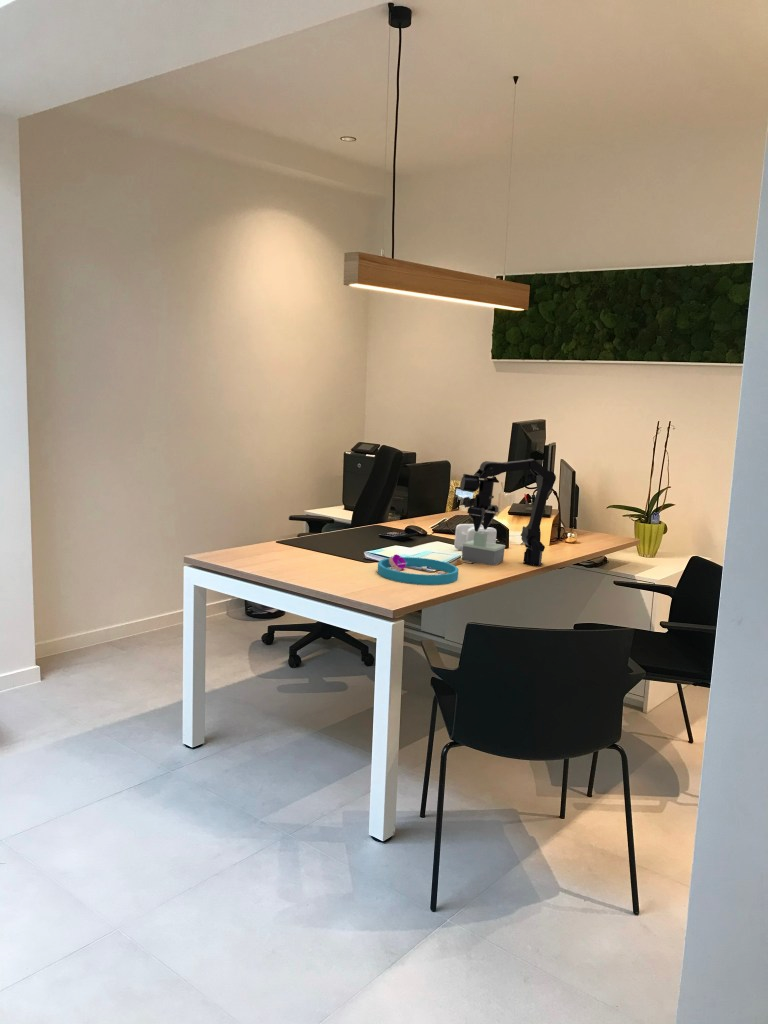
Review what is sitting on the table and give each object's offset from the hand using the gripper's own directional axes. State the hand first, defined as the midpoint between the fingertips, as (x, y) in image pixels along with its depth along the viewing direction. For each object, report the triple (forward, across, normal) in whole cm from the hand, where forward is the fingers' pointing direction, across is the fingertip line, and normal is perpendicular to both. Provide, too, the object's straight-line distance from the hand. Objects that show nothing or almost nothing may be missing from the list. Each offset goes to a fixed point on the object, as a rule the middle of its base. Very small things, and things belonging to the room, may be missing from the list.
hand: (480, 530), depth 336 cm
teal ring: (+15, +39, -7) cm, 43 cm away
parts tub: (+13, -5, +1) cm, 14 cm away
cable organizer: (+14, -20, -10) cm, 26 cm away
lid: (+8, -5, 0) cm, 9 cm away
